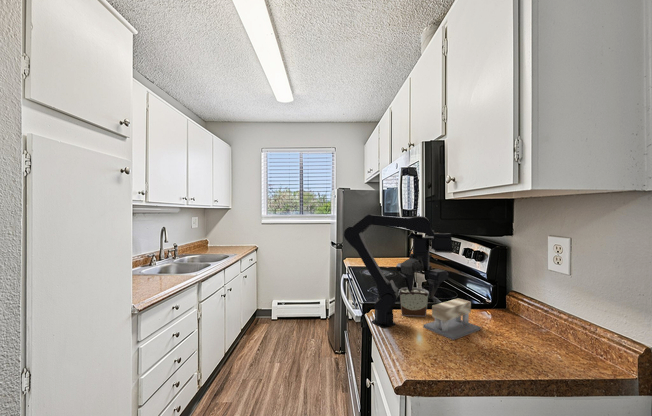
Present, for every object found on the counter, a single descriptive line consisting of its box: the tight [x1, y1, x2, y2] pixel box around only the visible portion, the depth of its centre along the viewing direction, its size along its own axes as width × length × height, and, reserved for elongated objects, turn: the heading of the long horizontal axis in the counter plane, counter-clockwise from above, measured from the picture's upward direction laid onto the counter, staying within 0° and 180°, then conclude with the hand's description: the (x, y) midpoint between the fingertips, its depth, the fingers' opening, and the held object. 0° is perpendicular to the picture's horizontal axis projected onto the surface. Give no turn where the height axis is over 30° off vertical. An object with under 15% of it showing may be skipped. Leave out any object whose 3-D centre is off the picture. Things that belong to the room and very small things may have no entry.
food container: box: [398, 286, 429, 317], centre depth 123 cm, size 12×6×10 cm, turn 84°
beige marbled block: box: [431, 297, 472, 321], centre depth 108 cm, size 16×5×4 cm, turn 125°
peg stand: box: [422, 313, 482, 341], centre depth 108 cm, size 12×16×5 cm
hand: (420, 295), depth 107 cm, fingers open, 9 cm apart
